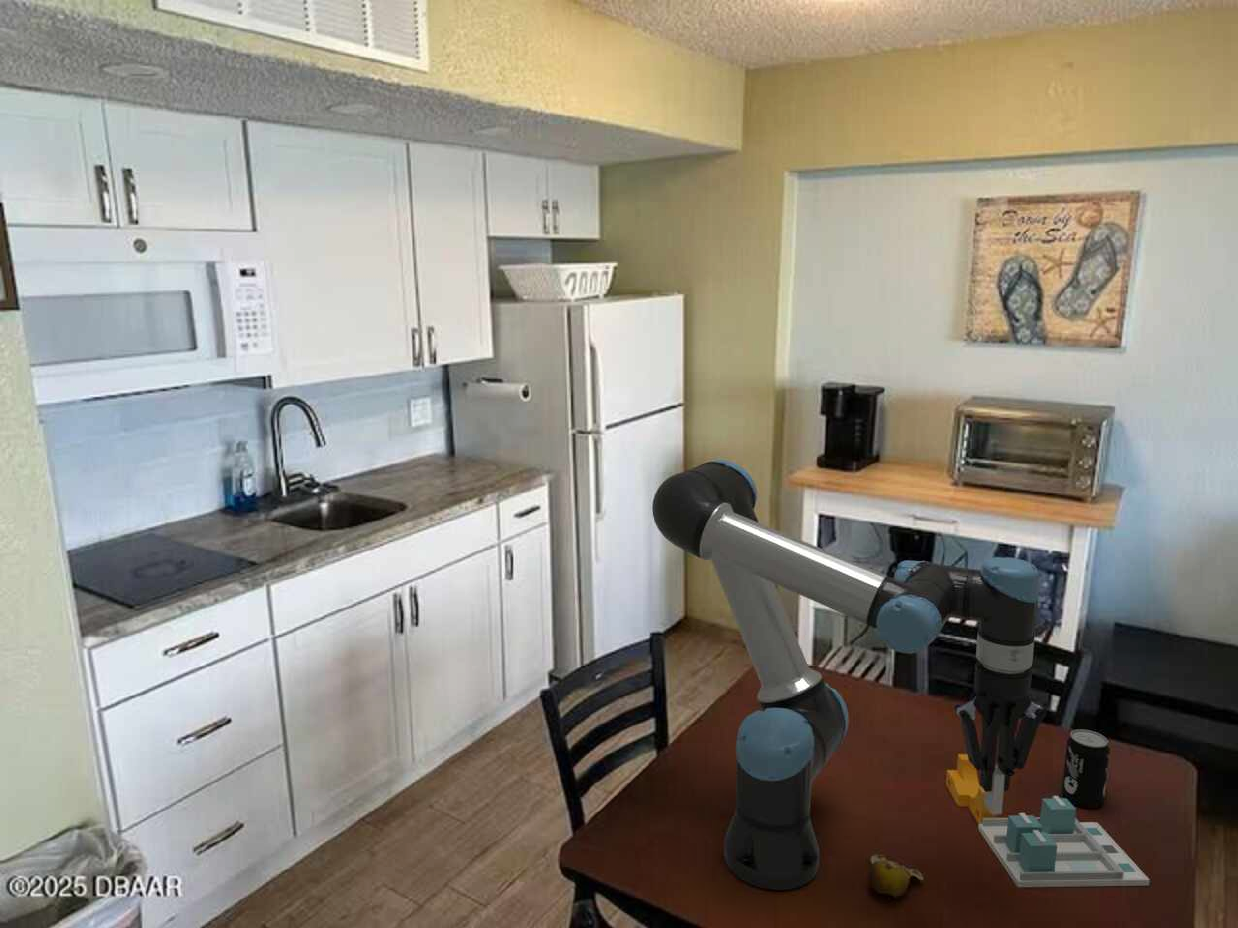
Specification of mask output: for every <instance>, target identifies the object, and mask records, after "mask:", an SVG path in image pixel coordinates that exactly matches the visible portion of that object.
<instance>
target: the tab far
mask: <svg viewBox="0 0 1238 928" xmlns="http://www.w3.org/2000/svg"><path fill="white" fill-rule="evenodd" d="M1076 814H1077V809H1076V807H1075V805H1074V804H1073V803H1071V802H1069V801H1068V800H1067V799H1066V798H1063V797H1062V798H1060V796H1058V795H1052V798H1041V807H1040V816H1039V817H1040V824H1041V826H1042V827H1043V831H1044V832H1045V833H1048V834H1073V833H1074V824H1075V818H1076V817H1077V816H1076Z"/></svg>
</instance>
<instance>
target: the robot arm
mask: <svg viewBox="0 0 1238 928" xmlns="http://www.w3.org/2000/svg"><path fill="white" fill-rule="evenodd" d="M757 500H758V491H757V487H756V484H755V482H754V479H753V478H752V476H751V474H750V473H749V472H748V471H747V470H746V469H745V468H743V467H742V466H741V465H739V464H737V463H735V462H732V461H730V460H728V461H727V460H721V459H720V460H714V461H708V462H705V463H704V462H703V463H701V464H699V465H697V466H694V467H691V468H690V469H686V470H684V471H682V472H678V473H675V474H673V475H671V476H669V477H667V478H666V479H665V480H664V481H662V483H661V484H660V485H659V486H658V488H657V490H656V492H655V493H654V496H653V499H652V507H651V508H652V517H653V521H654V523H655V526H656V527H657V529H658V531H659V532H660V533H661V535H662V536H663V537H664V538H665V539H666V540H667V541H668V542H670V543H671V544H672V545H674V546H676V547H678V548H679V549H681V550H682V551H685V552H686V553H689V554H690V555H692V556H695V557H698V558H700V559H702V560H704V561H709V560H710V561H711V564H712V566H713V568H714V571H715V574H716V576H717V579H718V580H719V583H720V586H721V588H722V591H723V593H724V595H725V598H726V601H727V603H728V605H729V608H730V610H731V613H732V615H733V617H734V620H735V623H736V626H737V627H738V630H739V633H740V635H741V637H742V641H743V643H744V645H745V647H746V649H747V652H748V654H749V657H750V660H751V662H752V664H753V667H754V669H755V671H756V674H757V676H758V677H757V678H758V679H759V682H760V685H761V686H760V689H759V691H758V694H757V696H756V697H757V701H758V702H759V705H760V708H761V710H760V709H758V710H756V711H754V712H752V713H751V714H749V715H748V716H746V717H745V718H744V720H742V722H741V724H740V725H739V728H738V733H737V737H736V744H735V755H736V763H735V764H736V765H735V766H736V767H735V768H736V771H735V772H736V776H735V777H736V780H735V781H736V783H735V785H736V786H735V811H734V813H733V815H732V819H731V820H730V823H729V825H728V828H727V831H726V832H725V833H726V834H725V837H724V840H723V857H724V861H725V863H726V866H727V867H728V868H729V870H730V872H731V873H733V874H734V875H735V876H736V877H737V878H739V879H740V880H741V881H744V883H747V884H750V885H752V886H755V887H757V888H761V889H765V890H766V889H767V890H774V891H785V890H787V891H788V890H792V889H796V888H800V887H802V886H804V885H806V884H808V883H810V881H812V880H813V879H815V877H816V875H817V874H818V873H819V867H820V855H821V854H820V847H819V843H818V840H817V836H816V834H815V830H814V827H813V824H812V821H811V799H812V797H811V796H812V785H813V781H814V779H815V778H816V777H817V776H818V774H819V773H820V771H821V770H822V769H823V767H825V765H826V764H827V762H828V760H829V759H830V758H831V757H832V756H833V754H835V753H836V752H837V751H838V750H839V748H840V747H841V745H842V743H843V742H844V739H845V736H846V735H847V732H848V728H849V723H850V722H849V721H850V720H849V717H850V716H849V711H848V707H847V705H846V702H845V700H844V699H843V697H842V695H841V694H840V693H839V692H838V691H837V690H836V689H835V688H831V687H830V686H829V684H828V683H827V682H825V681H824V678H823V675H822V674H821V673H820V672H819V671H816V670H814V669H813V668H811V667H810V666H809V665H808V663H807V662H808V661H807V660H806V657H805V655H804V653H803V650H802V648H801V645H800V644H799V641H798V638H797V636H796V634H795V631H794V629H793V627H792V623H791V621H790V619H789V615H788V614H787V612H786V608H785V607H784V604H783V602H782V599H781V597H780V594H779V592H778V590H777V586H779V587H781V588H784V589H786V590H788V591H791V592H792V593H795V594H797V595H800V596H802V597H804V598H806V599H809V600H810V601H813V602H815V603H818V604H819V605H822V606H824V607H827V608H829V609H831V610H834V611H835V612H838V613H840V614H843V615H844V616H847V617H849V618H852V619H853V620H856V621H858V622H861V623H862V624H865V625H867V626H869V627H871V628H874V629H875V630H877V633H878V636H879V638H880V639H881V640H882V641H883V642H884V643H885V644H886V645H887V647H889V648H890V649H891V650H893V651H896V652H898V653H901V654H914V653H915V654H916V653H919V652H921V651H922V650H924V649H926V648H927V647H928V646H929V645H930V644H931V643H932V642H933V641H935V639H936V638H937V637H938V636H939V635H940V633H941V631H942V628H943V627H944V625H945V624H946V623H947V621H948V619H949V618H953V619H959V620H963V621H964V620H965V621H970V622H971V621H973V622H977V625H978V627H977V636H976V649H975V650H976V652H975V658H976V659H977V660H976V661H975V667H974V681H973V682H974V683H973V684H974V690H973V692H972V693H971V696H970V701H968V702H967V703H966V704H963V705H961V704H956V705H955V706H954V712H955V713H956V714H957V716H958V717H959V719H960V723H961V728H962V729H961V730H962V733H963V738H964V744H965V747H966V754H968V759H969V761H970V762H971V763H972V765H973V766H974V767H975V769H976V770H977V771H980V778H979V785H980V786H981V787H982V788H983V790H984V791H985V796H984V804H985V806H986V807H987V808H988V810H989V811H990V812H991V814H997V815H1002V814H1003V800H1004V792H1008V791H1009V790H1010V782H1011V781H1010V780H1011V777H1013V776H1014V775H1015V771H1014V770H1016V769H1017V770H1022V769H1025V765H1026V763H1027V761H1028V758H1029V755H1030V752H1031V750H1032V749H1031V748H1032V745H1033V743H1034V740H1035V737H1036V734H1037V731H1038V729H1039V727H1040V726H1039V725H1040V724H1041V722H1043V720H1044V719H1045V718H1046V716H1047V711H1045V709H1044V708H1043V707H1041V706H1040V705H1039V704H1038V703H1037V702H1032V698H1031V696H1030V692H1031V685H1032V673H1033V672H1032V668H1031V667H1032V665H1033V658H1034V648H1035V647H1034V646H1035V634H1036V627H1037V626H1036V625H1037V617H1038V607H1039V606H1038V604H1039V597H1040V596H1039V570H1038V569H1037V567H1036V566H1035V565H1034V564H1032V563H1030V561H1029V562H1028V561H1027V560H1024V559H1020V558H1015V557H1008V556H1007V557H999V556H995V557H989V558H987V559H985V560H984V561H983V562H982V565H981V568H980V569H971V568H964V567H957V566H953V565H946V564H938V563H934V562H930V561H926V560H919V561H918V560H908V559H907V560H906V559H905V560H903V561H900V563H899V564H898V565H897V567H896V571H895V572H894V576H893V577H890V576H888V575H886V574H884V573H881V572H879V571H876V570H874V569H871V568H869V567H866V566H864V565H862V564H859V563H857V562H856V561H855V562H854V561H852V560H850V559H847V558H845V557H843V556H839V555H838V554H835V553H832V552H830V551H828V550H825V549H822V548H821V547H819V546H816V545H813V544H811V543H809V542H807V541H806V542H805V541H804V540H801V539H798V538H796V537H794V536H791V535H789V534H787V533H785V532H782V531H779V530H777V529H775V528H772V527H769V526H767V525H765V524H762V523H760V522H759V520H758V518H757V515H756V512H755V508H756V503H757ZM776 585H777V586H776ZM976 711H977V713H978V714H979V715H980V717H981V724H982V725H981V726H982V727H981V739H980V740H981V741H980V742H981V743H979V738H978V733H977V727H976V724H975V722H974V720H975V719H976V715H975V712H976ZM1020 719H1021V720H1020ZM1019 720H1020V724H1019V726H1018V722H1019ZM996 763H997V764H996Z"/></svg>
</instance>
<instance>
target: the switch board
mask: <svg viewBox="0 0 1238 928" xmlns="http://www.w3.org/2000/svg"><path fill="white" fill-rule="evenodd" d="M1034 817H1035V816H1034ZM1035 818H1036V819H1037V821H1038V822H1039V823H1040V816H1038V817H1035ZM977 824H978V823H977ZM1007 824H1008V817H996V818H983V819H982V824H978V825H977V830H978V831H979V832H980V834H981V836H982V837H983V838H984V840H985V842H986V843H987V844H988V846H989V847H990V849H991V851H992V852H993V853H994V855H995V856H996V857H997V859H998V860H999V862H1000V863H1001V865H1002V867H1003V868H1004V869H1005V871H1006V872H1007V874H1008V875H1009V877H1010V878H1011V879H1012V881H1013V883H1014V884H1015V886H1016V887H1017V888H1063V887H1064V888H1065V887H1067V888H1068V887H1069V888H1071V887H1073V888H1074V887H1077V888H1078V887H1079V888H1080V887H1139V886H1140V887H1141V886H1143V887H1145V886H1146V887H1147V886H1148V887H1149V886H1150V880H1151V879H1150V878H1149V877H1148V876H1147V875H1146V874H1145V873H1144V872H1143V871H1142V870H1141V869H1140V867H1138V865H1137V864H1136V863H1135V862H1134V861H1133V860H1132V859H1131V858H1130V856H1129V855H1128V854H1127V853H1126V852H1125V851H1124V850H1123V848H1121V847H1120V845H1119V844H1118V843H1116V841H1115V840H1114V838H1112V837H1111V835H1109V834H1108V833H1107V831H1106V830H1105V829H1104V828H1103V827H1102V825H1100V824H1099V823H1098V822H1096V821H1095V822H1094V821H1089V822H1088V821H1086V822H1081V821H1079V820H1078V819H1077V817H1075V824H1074V833H1073V834H1049V836H1050V837H1051V838H1052V839H1053V841H1054V842H1055V843H1056V844H1057V853H1056V862H1055V871H1048V872H1026V871H1025V870H1024V868H1023V867H1022V865H1021V864H1020V863H1019V853H1012V851H1011V850H1010V849H1009V847H1008V846H1007V844H1006V835H1007ZM1042 833H1045V832H1044V831H1043V829H1042Z"/></svg>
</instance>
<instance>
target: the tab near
mask: <svg viewBox="0 0 1238 928" xmlns="http://www.w3.org/2000/svg"><path fill="white" fill-rule="evenodd" d="M1056 853H1057V844H1056V843H1055V842H1054V841H1053V839H1052V838H1051V837H1050V836H1049V834H1048V833H1040V832H1039V831H1038V830H1033V833H1021V843H1020V853H1019V863H1020V864H1021V865H1022V867H1023V868H1024V870H1025V871H1026V872H1048V871H1055V862H1056Z"/></svg>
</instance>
